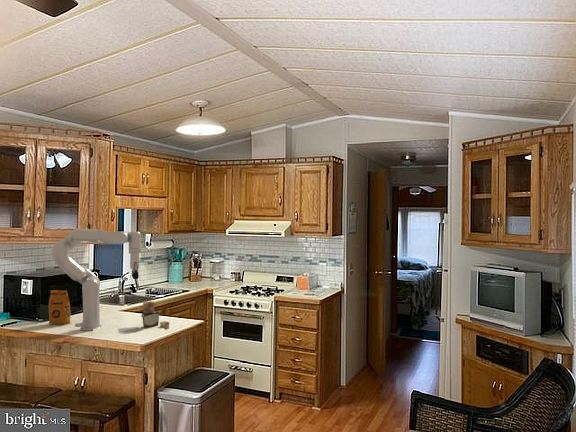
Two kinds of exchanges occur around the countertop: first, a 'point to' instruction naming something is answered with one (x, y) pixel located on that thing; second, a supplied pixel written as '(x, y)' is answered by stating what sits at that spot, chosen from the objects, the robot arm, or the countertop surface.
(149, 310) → the walnut block
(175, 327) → the countertop surface
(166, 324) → the oak block
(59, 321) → the coffee package
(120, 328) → the parts board
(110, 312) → the countertop surface
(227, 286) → the countertop surface
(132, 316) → the countertop surface
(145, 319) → the food container
